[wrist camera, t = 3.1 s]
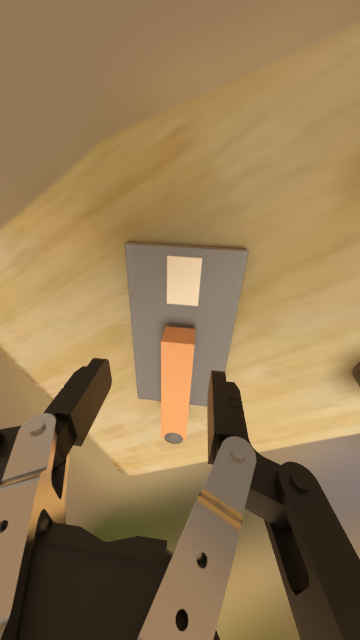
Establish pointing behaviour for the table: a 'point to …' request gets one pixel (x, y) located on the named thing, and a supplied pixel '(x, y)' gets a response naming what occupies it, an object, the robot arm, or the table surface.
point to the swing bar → (176, 381)
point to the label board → (182, 307)
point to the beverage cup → (357, 373)
